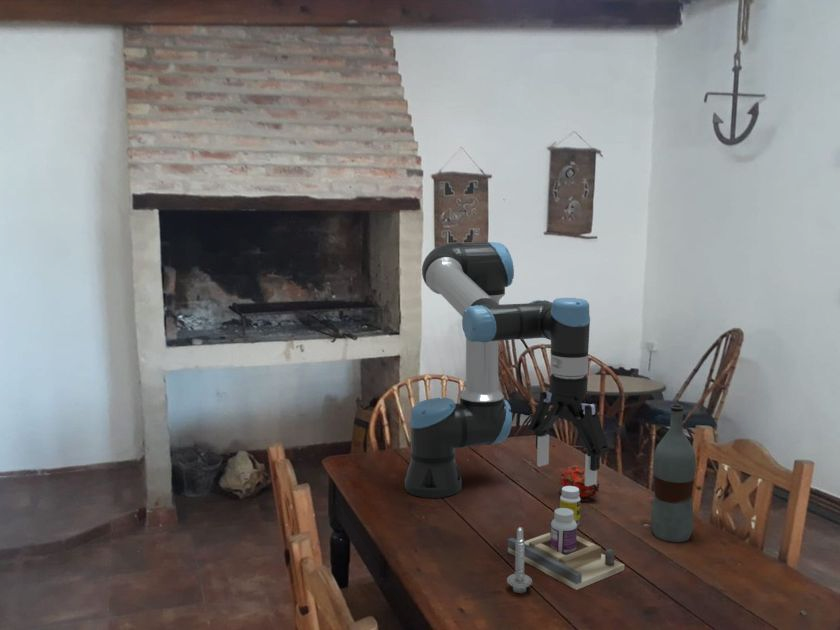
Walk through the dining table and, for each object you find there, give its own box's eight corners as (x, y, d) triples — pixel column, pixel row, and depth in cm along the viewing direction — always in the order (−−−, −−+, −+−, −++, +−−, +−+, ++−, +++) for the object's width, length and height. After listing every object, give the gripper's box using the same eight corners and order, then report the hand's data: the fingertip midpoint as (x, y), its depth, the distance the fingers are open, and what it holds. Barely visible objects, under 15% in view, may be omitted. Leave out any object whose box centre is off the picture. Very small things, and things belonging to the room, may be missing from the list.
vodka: (701, 541, 168) (707, 410, 164) (662, 545, 167) (667, 412, 162) (679, 524, 177) (685, 399, 173) (643, 527, 176) (647, 401, 172)
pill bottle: (577, 551, 161) (579, 508, 160) (574, 562, 156) (575, 518, 155) (552, 547, 163) (553, 504, 162) (548, 558, 158) (549, 514, 157)
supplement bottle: (580, 527, 176) (580, 493, 175) (559, 526, 177) (560, 491, 176) (579, 519, 181) (580, 485, 179) (559, 518, 182) (560, 484, 180)
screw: (509, 596, 145) (504, 584, 150) (534, 595, 146) (528, 583, 150) (510, 532, 143) (505, 522, 148) (535, 531, 144) (529, 521, 148)
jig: (507, 552, 164) (508, 534, 163) (554, 535, 172) (554, 519, 171) (576, 590, 148) (576, 570, 147) (624, 570, 156) (624, 551, 155)
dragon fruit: (562, 493, 201) (595, 514, 192) (545, 481, 196) (579, 503, 186) (578, 466, 202) (613, 485, 193) (562, 453, 197) (597, 473, 187)
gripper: (513, 365, 162) (511, 460, 165) (603, 390, 142) (599, 497, 145) (539, 361, 166) (537, 454, 169) (629, 384, 146) (625, 489, 149)
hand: (565, 474), depth 157 cm, fingers open, 13 cm apart
